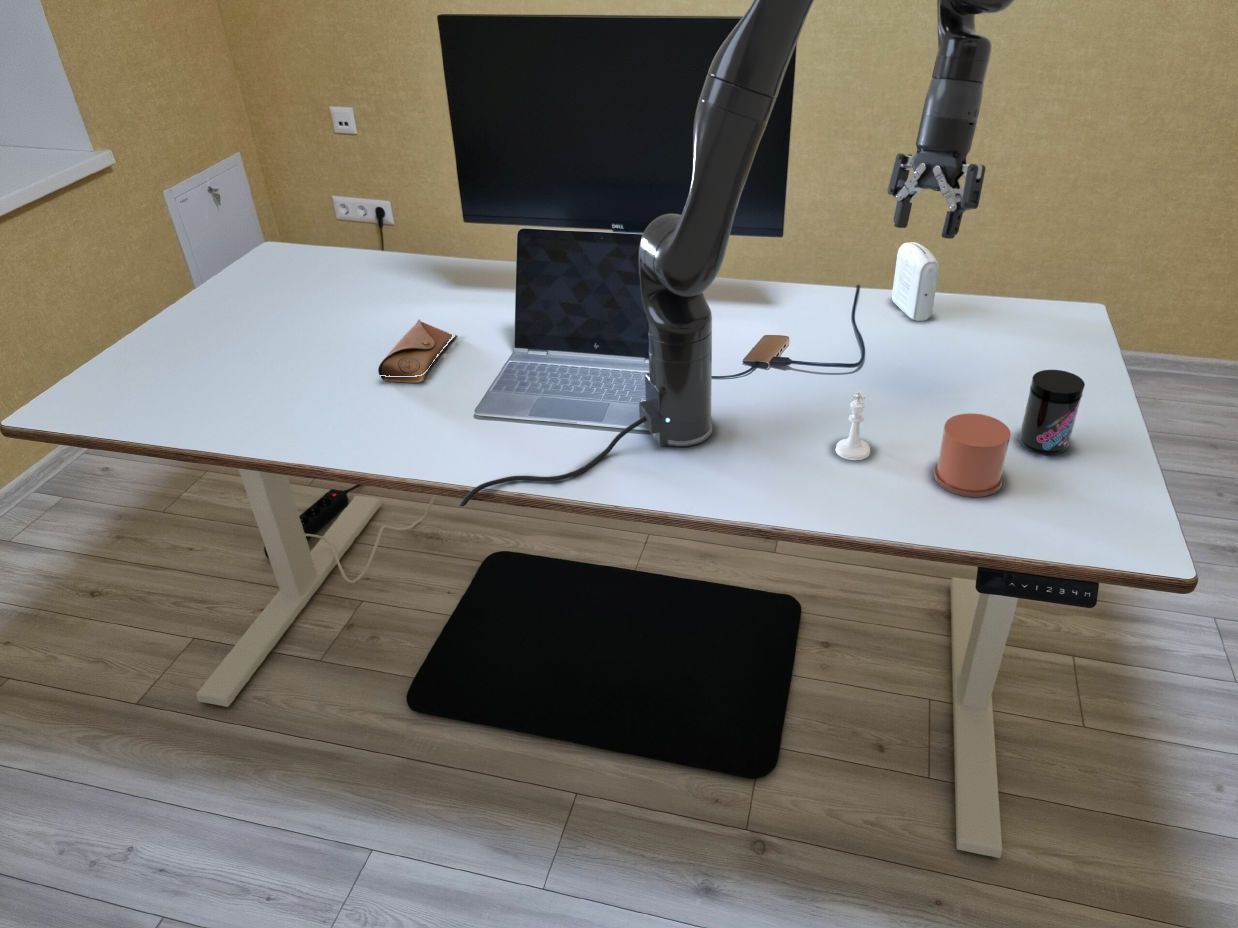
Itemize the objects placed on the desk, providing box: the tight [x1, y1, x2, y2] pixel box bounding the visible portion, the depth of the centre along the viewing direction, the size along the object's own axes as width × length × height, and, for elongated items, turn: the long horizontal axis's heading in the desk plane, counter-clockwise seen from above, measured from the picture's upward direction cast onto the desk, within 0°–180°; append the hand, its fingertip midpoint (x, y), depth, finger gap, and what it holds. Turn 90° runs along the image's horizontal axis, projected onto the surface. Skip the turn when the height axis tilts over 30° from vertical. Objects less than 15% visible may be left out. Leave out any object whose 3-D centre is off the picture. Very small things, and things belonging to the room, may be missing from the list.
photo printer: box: [891, 241, 940, 322], centre depth 169 cm, size 10×4×12 cm, turn 11°
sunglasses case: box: [377, 318, 458, 384], centre depth 166 cm, size 18×7×7 cm
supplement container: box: [1019, 369, 1086, 456], centre depth 132 cm, size 7×7×10 cm
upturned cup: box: [933, 412, 1011, 498], centre depth 126 cm, size 9×9×8 cm
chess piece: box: [835, 390, 871, 461], centre depth 133 cm, size 5×5×10 cm
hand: (923, 232), depth 136 cm, fingers open, 8 cm apart
